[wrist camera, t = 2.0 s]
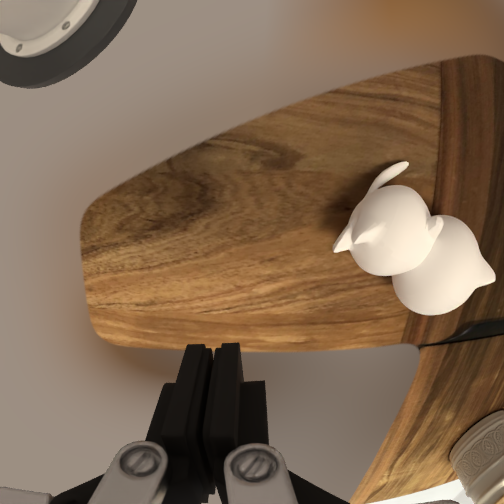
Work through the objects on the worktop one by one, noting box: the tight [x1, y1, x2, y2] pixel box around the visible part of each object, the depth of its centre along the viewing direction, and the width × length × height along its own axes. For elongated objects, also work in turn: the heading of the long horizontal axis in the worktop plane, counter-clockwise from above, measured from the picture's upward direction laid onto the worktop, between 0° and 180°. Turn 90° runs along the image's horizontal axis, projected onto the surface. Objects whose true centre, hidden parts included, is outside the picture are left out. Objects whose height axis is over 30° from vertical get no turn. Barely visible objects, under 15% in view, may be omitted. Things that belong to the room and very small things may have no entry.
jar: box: [449, 411, 504, 504], centre depth 27 cm, size 13×13×18 cm
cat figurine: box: [333, 162, 495, 315], centre depth 22 cm, size 9×11×12 cm
